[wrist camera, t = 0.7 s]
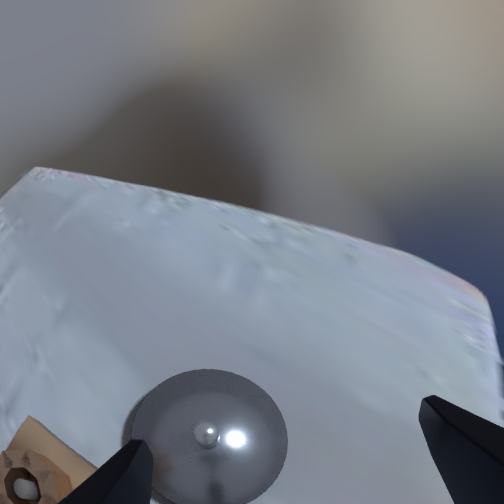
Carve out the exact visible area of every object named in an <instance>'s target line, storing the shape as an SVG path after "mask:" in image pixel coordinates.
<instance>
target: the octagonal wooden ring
mask: <svg viewBox="0 0 504 504" xmlns="http://www.w3.org/2000/svg"><path fill="white" fill-rule="evenodd" d="M31 474H32V475H33V476H34V477H36V478H37V480H38V484H39V488H40V493H41V499H40V501H39V503H38V504H57V503H58V502H60V501H61V500H62V499H63V498H64V497H67V495H68V494H69V493H71V492H72V491H73V488H72V484H71V480H70V476H69V475H68V474H66V473H65V472H64V471H63V470H61V469H60V468H59V467H58V466H57V465H55V464H54V463H53V462H52V461H51V460H50V459H48V458H47V457H46V456H43V455H40V454H38V453H35V452H33V451H31V450H28V449H24V450H10V451H2V453H1V455H0V504H31V503H30V502H29V501H28V499H23V498H20V497H19V496H18V495H17V494H16V493H15V491H14V482H15V481H16V480H17V479H24V480H28V478H29V477H30V475H31Z"/></svg>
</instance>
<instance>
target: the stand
mask: <svg viewBox="0 0 504 504" xmlns="http://www.w3.org/2000/svg"><path fill="white" fill-rule="evenodd" d="M24 449H28V450H31V451H33V452H35V453H38V454H40V455H43V456H46V457H47V458H48V459H50V460H51V461H52V462H53V463H54V464H55V465H57V466H58V467H59V468H60V469H61V470H63V471H64V472H65V473H66V474H68V475H69V476H70V480H71V484H72V488H73V490H74V489H75V488H77V487H78V486H79V485H80V484H81V483H82V482H84V481H85V480H86V479H87V478H88V477H89V476H91V475H92V474H93V473H94V472H95V471H96V470H98V469H99V468H97V467H96V466H94V465H93V464H92V463H90V462H89V461H87V460H86V459H85V458H83V457H82V456H81V455H79V454H78V453H77V452H75V451H74V450H73V449H72V448H70V447H69V446H68V445H66V444H65V443H64V442H63V441H61V440H60V439H59V438H58V437H57V436H55V435H54V434H53V433H52V432H51V431H50V430H48V429H47V428H46V427H45V426H44V425H43V424H42V423H40V422H39V421H38V420H36V419H34V418H33V417H31V416H29V415H28V416H27V418H26V420H25V421H24V423H23V424H22V426H21V427H20V429H19V431H18V432H17V434H16V435H15V437H14V439H13V440H12V442H11V443H10V445H9V447H8V448H7V450H6V451H10V450H24ZM14 491H15V493H16V494H17V495H18V496H19V497H20V498H23V499H28V501H29V502H30V503H31V504H38V503H39V501H40V499H41V493H40V488H39V484H38V480H37V478H36V477H34V476H33V475H32V474H31V475H30V477H29V478H28V480H24V479H17V480H16V481H15V482H14Z"/></svg>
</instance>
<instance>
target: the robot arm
mask: <svg viewBox="0 0 504 504" xmlns="http://www.w3.org/2000/svg"><path fill="white" fill-rule="evenodd" d="M419 422H420V425H421V428H422V431H423V433H424V436H425V439H426V442H427V445H428V447H429V450H430V453H431V456H432V458H433V460H434V462H435V464H436V466H437V468H438V470H439V472H440V474H441V477H442V479H443V481H444V483H445V485H446V487H447V489H448V491H449V493H450V495H451V498H452V500H453V502H454V504H504V428H503V427H501V426H499V425H496V424H494V423H492V422H490V421H488V420H486V419H483V418H481V417H479V416H477V415H475V414H473V413H471V412H469V411H467V410H464V409H462V408H460V407H458V406H456V405H454V404H452V403H450V402H448V401H446V400H444V399H442V398H440V397H438V396H436V395H431V396H428V397H425V398H423V399H422V402H421V407H420V411H419ZM153 461H154V459H153V455H152V453H151V451H150V449H149V447H148V445H147V443H146V441H145V440H143V439H132V440H130V441H129V442H128V443H127V444H126V445H125V446H123V447H122V448H121V449H120V450H119V451H118V452H117V453H116V454H115V455H113V456H112V457H111V458H110V459H109V460H108V461H107V462H106V463H104V464H103V465H102V466H101V467H100V468H99V469H98V470H96V471H95V472H94V473H93V474H92V475H91V476H89V477H88V478H87V479H86V480H85V481H84V482H82V483H81V484H80V485H79V486H78V487H77V488H75V489H74V490H73V491H72V492H71V493H69V494H68V495H67V497H64V498H63V499H62V500H61V501H60V502H58V503H57V504H150V498H151V488H152V474H153Z"/></svg>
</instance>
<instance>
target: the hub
mask: <svg viewBox="0 0 504 504" xmlns="http://www.w3.org/2000/svg"><path fill="white" fill-rule="evenodd" d="M132 439H143V440H145V441H146V443H147V445H148V447H149V449H150V451H151V453H152V455H153V459H154V461H153V474H152V487H153V488H154V489H155V490H156V491H157V492H158V493H160V494H161V495H162V496H164V497H165V498H167V499H169V500H170V501H172V502H174V503H176V504H247V503H249V502H250V501H252V500H254V499H256V498H257V497H259V496H260V495H261V494H263V493H264V492H265V491H266V490H267V489H268V488H269V487H270V486H271V485H272V484H273V482H274V481H275V480H276V478H277V477H278V475H279V473H280V471H281V469H282V467H283V464H284V462H285V459H286V454H287V445H288V438H287V430H286V426H285V422H284V419H283V417H282V414H281V412H280V410H279V409H278V407H277V405H276V404H275V402H274V401H273V400H272V398H271V397H270V396H269V395H268V394H267V393H266V392H265V391H264V390H263V389H261V388H260V387H259V386H258V385H256V384H255V383H253V382H252V381H250V380H248V379H246V378H244V377H242V376H240V375H237V374H234V373H231V372H227V371H222V370H214V369H201V370H192V371H188V372H184V373H181V374H178V375H175V376H173V377H171V378H169V379H167V380H165V381H164V382H162V383H161V384H159V385H158V386H157V387H155V388H154V389H153V390H152V391H151V392H150V393H149V394H148V395H147V396H146V398H145V399H144V400H143V402H142V403H141V405H140V407H139V409H138V411H137V413H136V415H135V418H134V421H133V426H132V434H131V440H132Z"/></svg>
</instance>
